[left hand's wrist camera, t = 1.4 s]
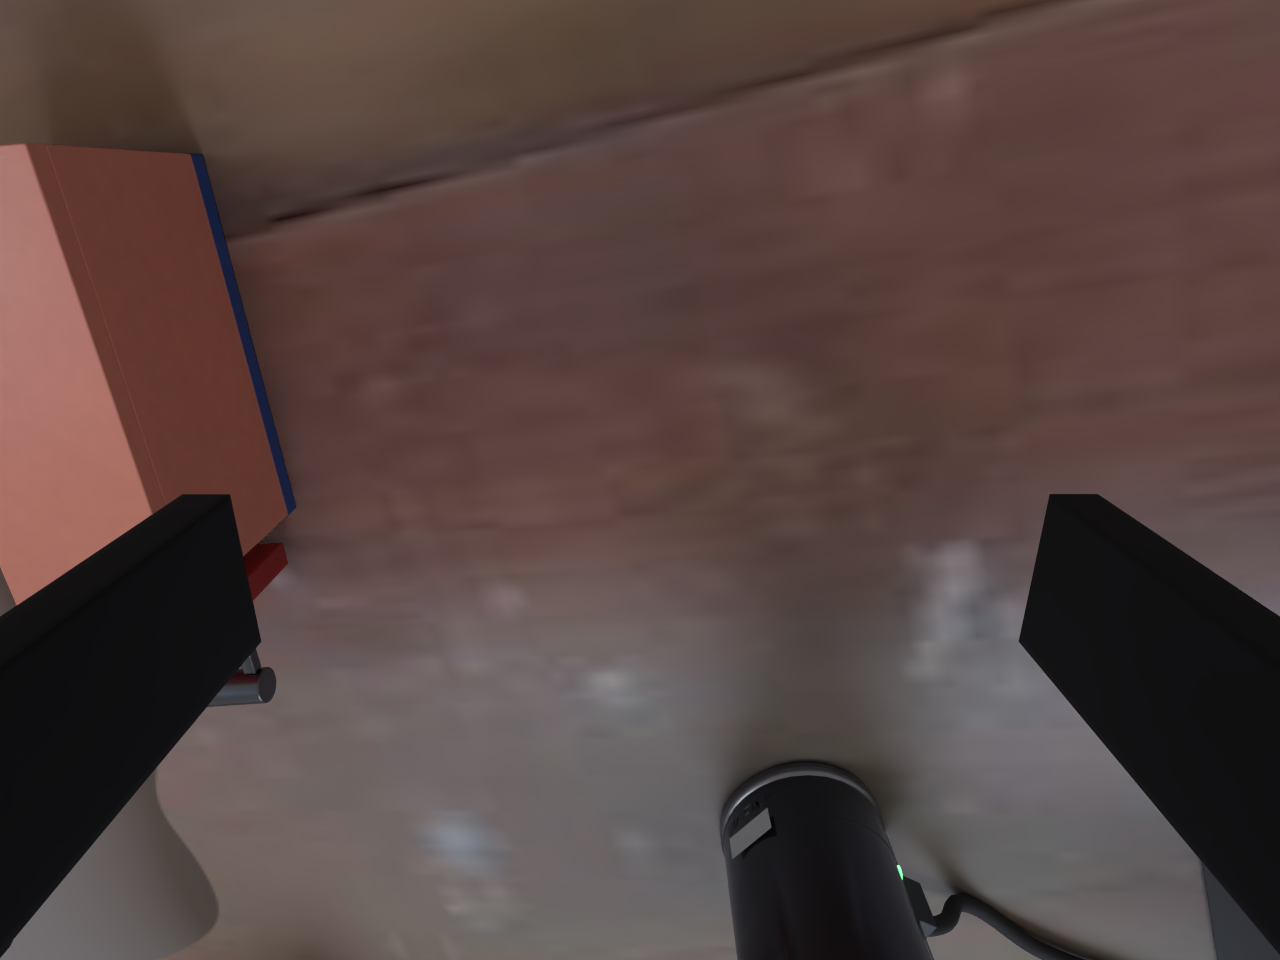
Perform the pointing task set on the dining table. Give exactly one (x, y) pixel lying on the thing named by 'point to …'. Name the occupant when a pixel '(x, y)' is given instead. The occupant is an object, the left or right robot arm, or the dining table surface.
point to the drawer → (252, 678)
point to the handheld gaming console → (1234, 927)
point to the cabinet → (120, 358)
